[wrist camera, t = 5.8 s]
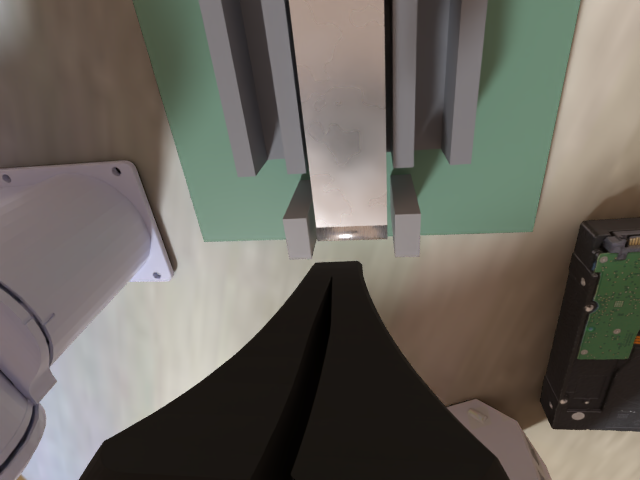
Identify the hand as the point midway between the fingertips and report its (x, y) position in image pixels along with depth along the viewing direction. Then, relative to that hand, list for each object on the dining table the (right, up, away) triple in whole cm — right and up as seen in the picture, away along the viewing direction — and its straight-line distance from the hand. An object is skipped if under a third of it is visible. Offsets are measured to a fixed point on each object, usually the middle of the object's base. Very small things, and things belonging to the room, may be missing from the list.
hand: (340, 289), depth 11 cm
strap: (0, +8, +2) cm, 8 cm away
